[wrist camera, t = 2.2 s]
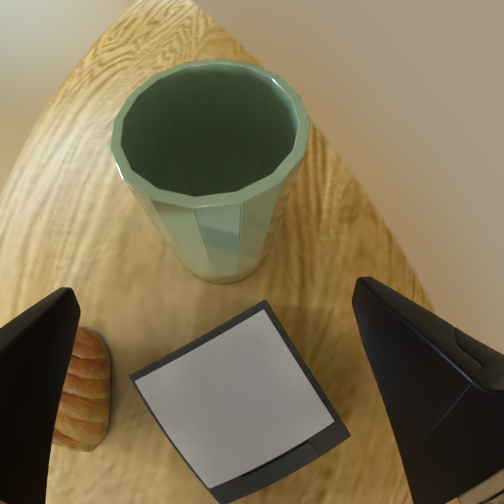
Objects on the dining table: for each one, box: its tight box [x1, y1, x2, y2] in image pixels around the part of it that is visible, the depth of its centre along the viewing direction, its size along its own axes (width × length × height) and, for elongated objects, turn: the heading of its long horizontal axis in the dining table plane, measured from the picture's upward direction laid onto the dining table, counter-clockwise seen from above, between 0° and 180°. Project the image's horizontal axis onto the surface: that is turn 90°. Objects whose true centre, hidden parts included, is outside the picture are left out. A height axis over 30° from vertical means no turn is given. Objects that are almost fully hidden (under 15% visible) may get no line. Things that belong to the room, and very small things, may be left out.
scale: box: [129, 300, 351, 504], centre depth 17 cm, size 11×10×3 cm
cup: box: [111, 58, 310, 284], centre depth 15 cm, size 7×7×13 cm
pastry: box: [52, 326, 111, 452], centre depth 16 cm, size 9×7×4 cm
